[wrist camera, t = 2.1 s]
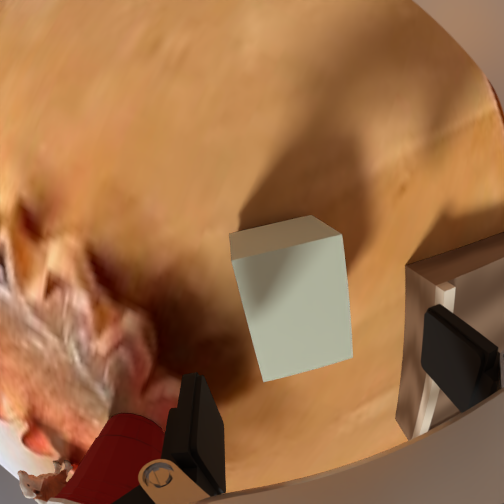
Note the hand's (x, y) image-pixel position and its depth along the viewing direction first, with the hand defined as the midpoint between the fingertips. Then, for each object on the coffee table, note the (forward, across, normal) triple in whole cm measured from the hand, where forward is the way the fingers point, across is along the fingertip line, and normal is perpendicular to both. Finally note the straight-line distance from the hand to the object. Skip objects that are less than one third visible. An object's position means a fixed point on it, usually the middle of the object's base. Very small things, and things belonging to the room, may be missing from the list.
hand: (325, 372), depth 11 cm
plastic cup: (+10, +16, +12) cm, 22 cm away
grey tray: (+10, -16, +10) cm, 22 cm away
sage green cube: (+10, 0, -1) cm, 10 cm away
